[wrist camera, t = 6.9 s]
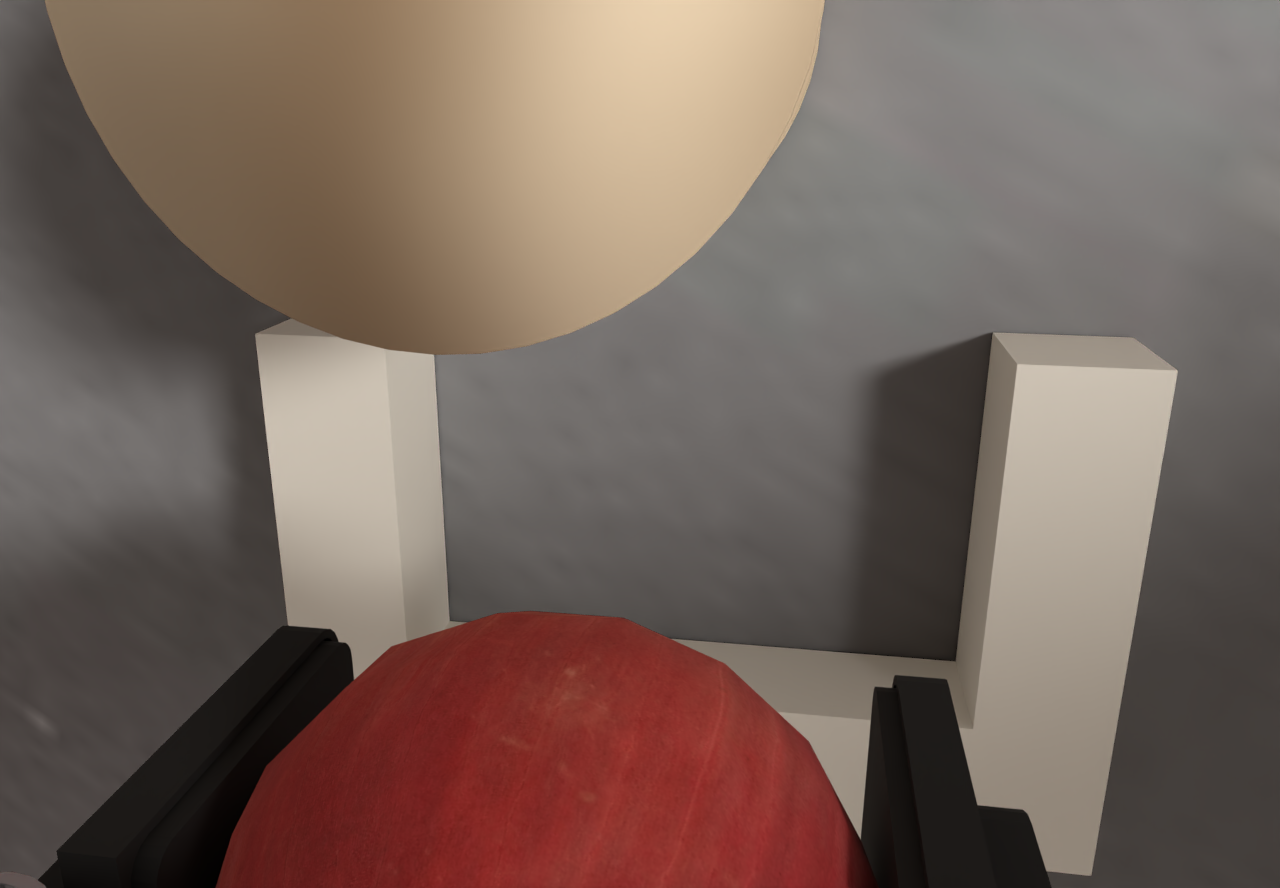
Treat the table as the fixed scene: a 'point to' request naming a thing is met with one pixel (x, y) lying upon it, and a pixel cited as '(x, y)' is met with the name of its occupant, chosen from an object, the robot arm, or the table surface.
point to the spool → (441, 147)
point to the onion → (546, 773)
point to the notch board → (785, 677)
